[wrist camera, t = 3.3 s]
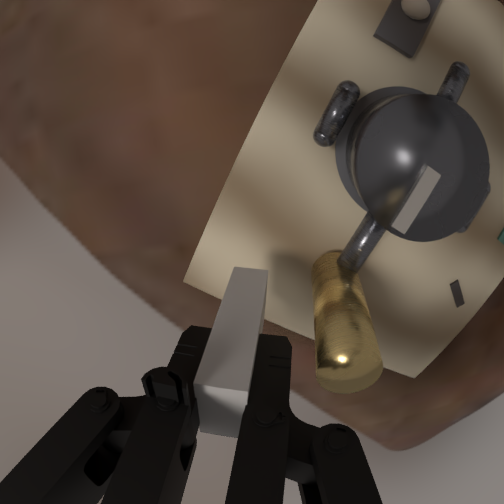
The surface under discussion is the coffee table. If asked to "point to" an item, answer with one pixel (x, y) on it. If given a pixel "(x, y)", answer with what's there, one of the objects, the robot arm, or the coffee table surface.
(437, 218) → the grey round handled piece
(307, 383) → the coffee table surface
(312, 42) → the lever board
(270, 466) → the robot arm
